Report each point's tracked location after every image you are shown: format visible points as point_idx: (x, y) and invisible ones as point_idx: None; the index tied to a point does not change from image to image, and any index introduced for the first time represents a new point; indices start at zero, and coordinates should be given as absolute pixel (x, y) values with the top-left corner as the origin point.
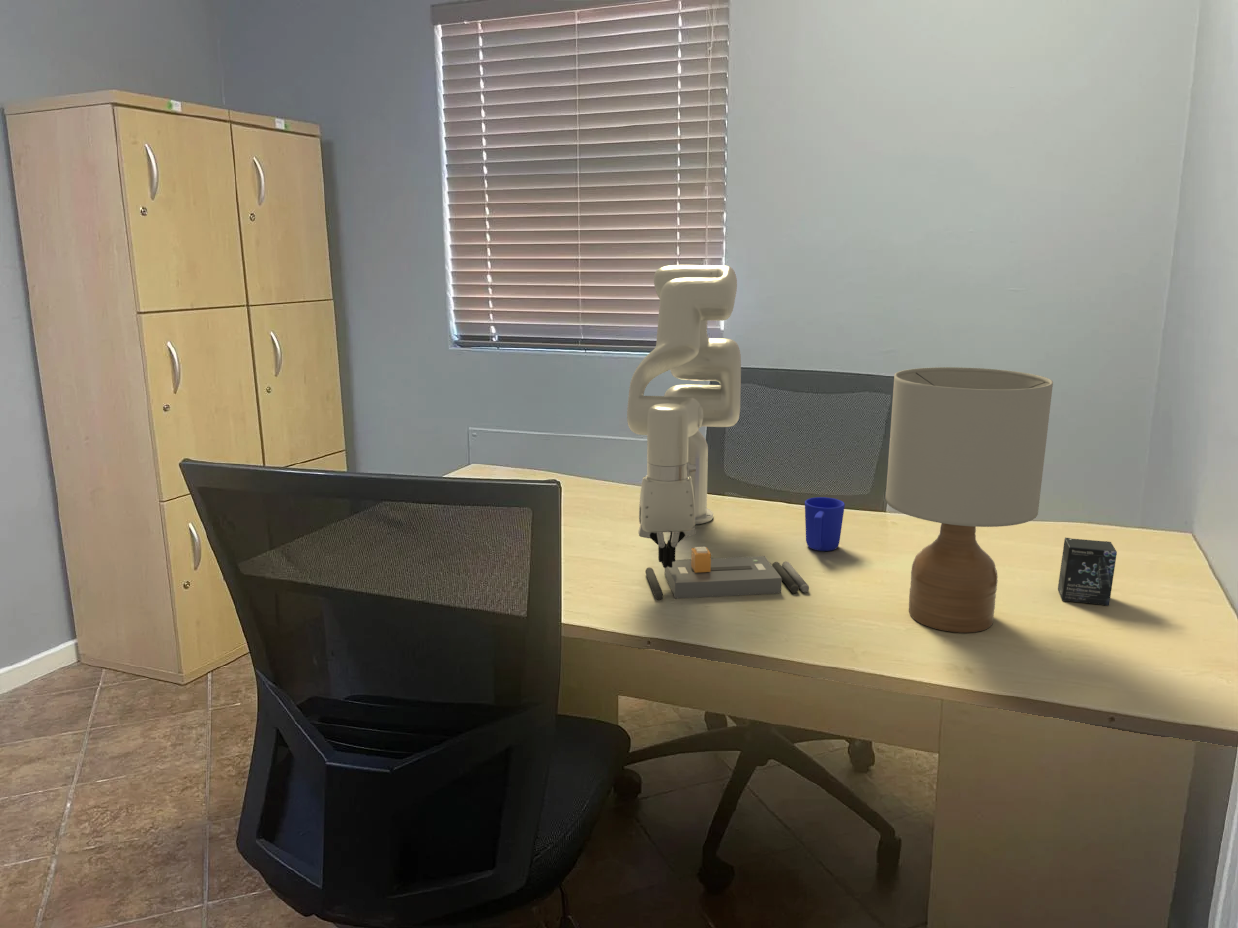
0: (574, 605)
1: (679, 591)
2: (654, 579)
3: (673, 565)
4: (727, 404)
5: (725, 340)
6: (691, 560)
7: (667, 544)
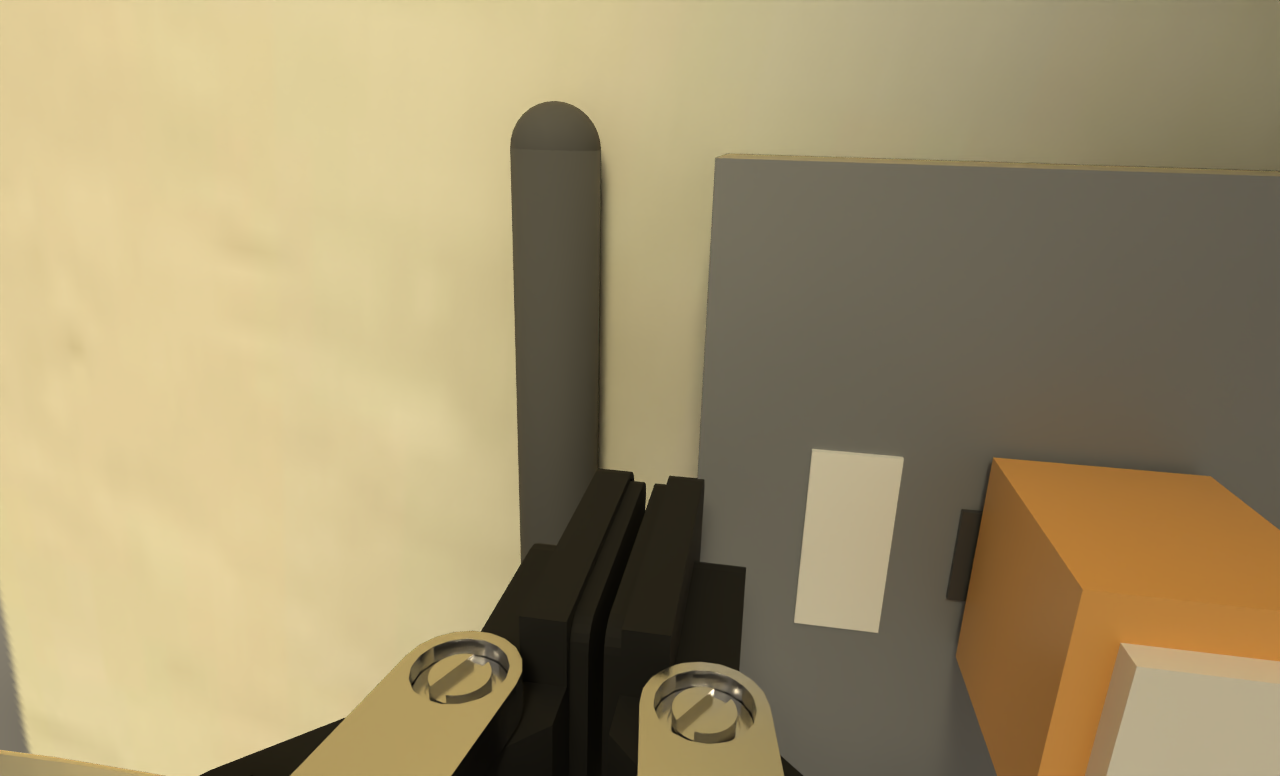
0: (15, 629)
1: None
2: (549, 490)
3: (782, 362)
4: None
5: None
6: (1013, 501)
7: (616, 692)
